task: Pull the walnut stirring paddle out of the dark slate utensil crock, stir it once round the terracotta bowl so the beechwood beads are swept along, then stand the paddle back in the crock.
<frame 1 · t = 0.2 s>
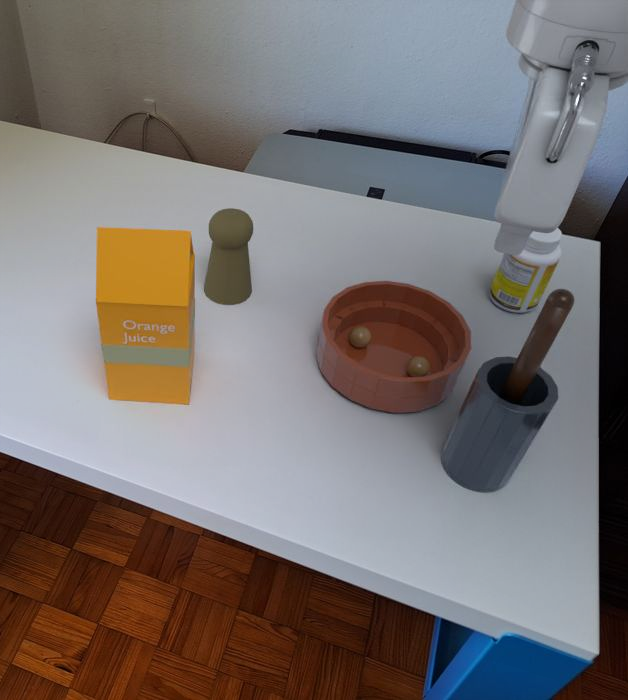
hand: (515, 211, 50), 27 cm above the table, tool pointing down, fingers open, 8 cm apart
supplement bottle: (511, 300, 83), on the table
crock: (475, 464, 67), on the table
olive game pawn: (227, 289, 86), on the table
stir paddle: (477, 460, 66), point 1 cm above the table, touching crock
orange juice: (153, 377, 76), on the table
bead a: (418, 366, 73), point 2 cm above the table, touching bowl
bowl: (385, 362, 76), on the table
bead b: (360, 336, 77), point 2 cm above the table, touching bowl
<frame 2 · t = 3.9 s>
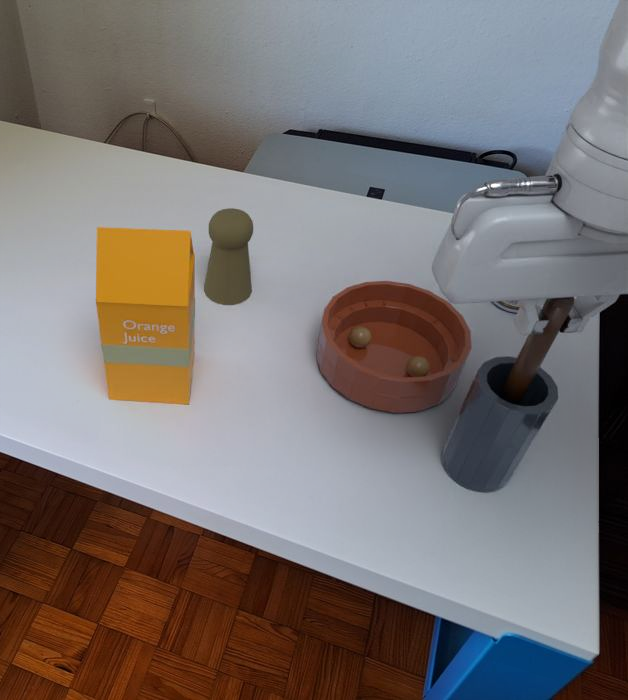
hand: (546, 328, 53), 19 cm above the table, tool pointing down, fingers closed on stir paddle, 2 cm apart
stir paddle: (477, 460, 66), point 1 cm above the table, touching crock, gripper
everything else where it was.
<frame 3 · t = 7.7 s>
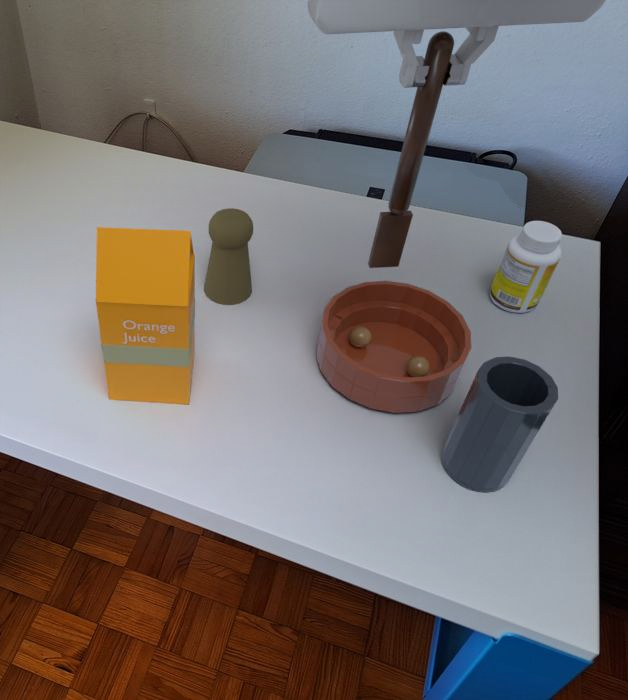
hand: (431, 83, 53), 33 cm above the table, tool pointing down, fingers closed on stir paddle
stir paddle: (382, 265, 66), point 15 cm above the table, touching gripper
everything else where it was.
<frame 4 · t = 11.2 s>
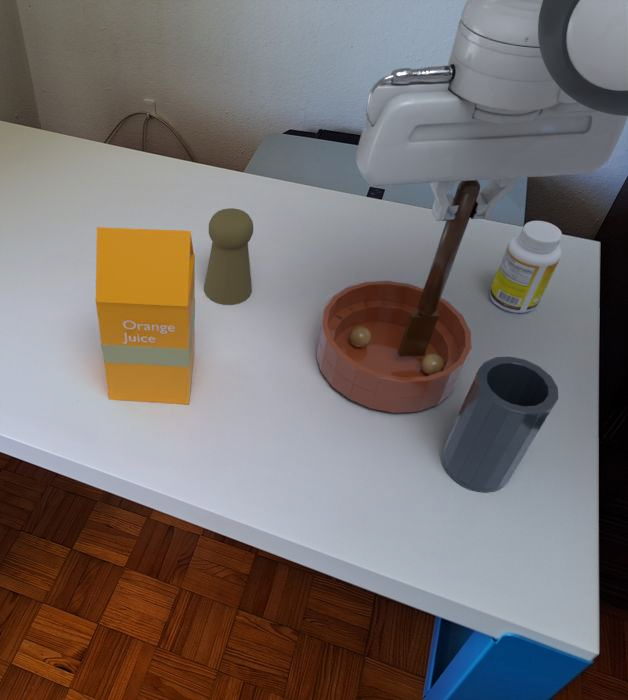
hand: (459, 216, 61), 20 cm above the table, tool pointing down, fingers closed on stir paddle, 2 cm apart
stir paddle: (410, 354, 74), point 2 cm above the table, touching gripper
bead a: (432, 364, 74), point 2 cm above the table, tilted 78°, touching bowl
everything else where it was.
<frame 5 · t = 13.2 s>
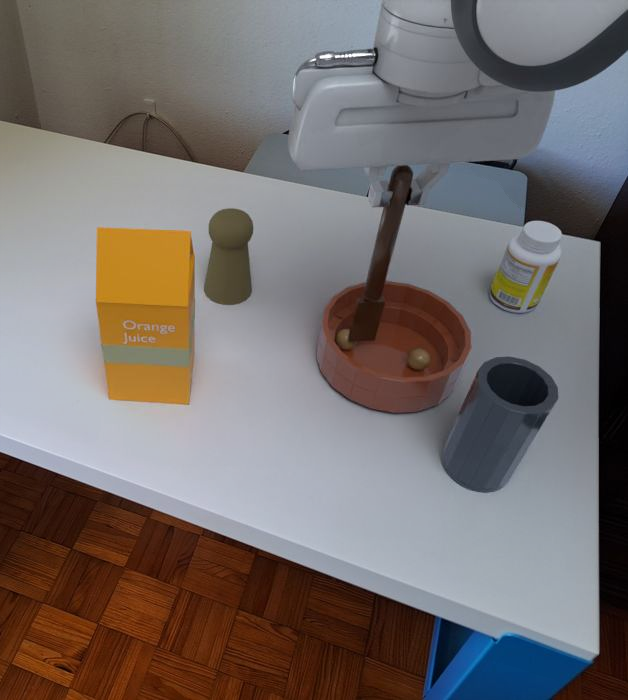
hand: (395, 202, 61), 21 cm above the table, tool pointing down, fingers closed on stir paddle, 2 cm apart
stir paddle: (361, 339, 75), point 3 cm above the table, touching gripper
bead a: (418, 359, 74), point 2 cm above the table, tilted 36°, touching bowl
bead b: (346, 339, 77), point 2 cm above the table, tilted 78°, touching bowl
everything else where it was.
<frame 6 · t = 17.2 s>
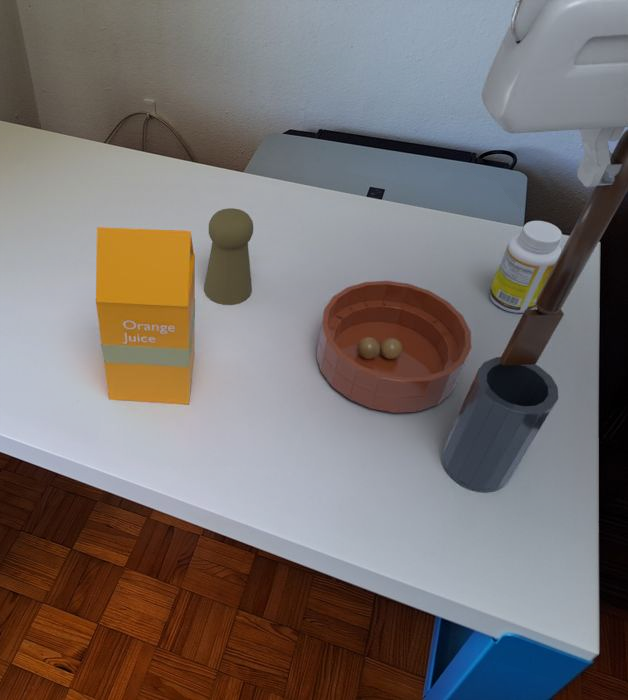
hand: (616, 180, 44), 32 cm above the table, tool pointing down, fingers closed on stir paddle
stir paddle: (517, 362, 58), point 14 cm above the table, touching gripper
bead a: (390, 348, 75), point 2 cm above the table, tilted 133°, touching bowl
bead b: (368, 348, 76), point 2 cm above the table, tilted 66°, touching bowl
everything else where it was.
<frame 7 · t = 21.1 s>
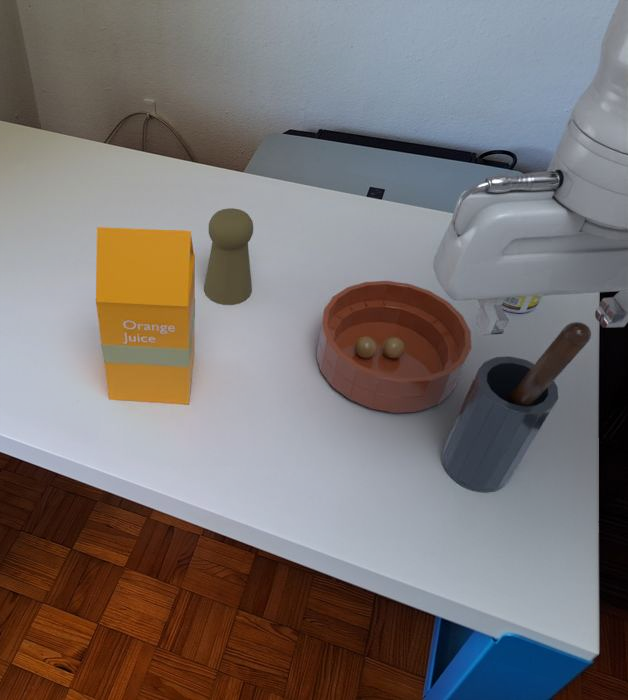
hand: (547, 325, 53), 19 cm above the table, tool pointing down, fingers open, 8 cm apart
stir paddle: (474, 454, 67), point 1 cm above the table, tilted 11°, touching crock
bead b: (366, 347, 76), point 2 cm above the table, tilted 60°, touching bowl
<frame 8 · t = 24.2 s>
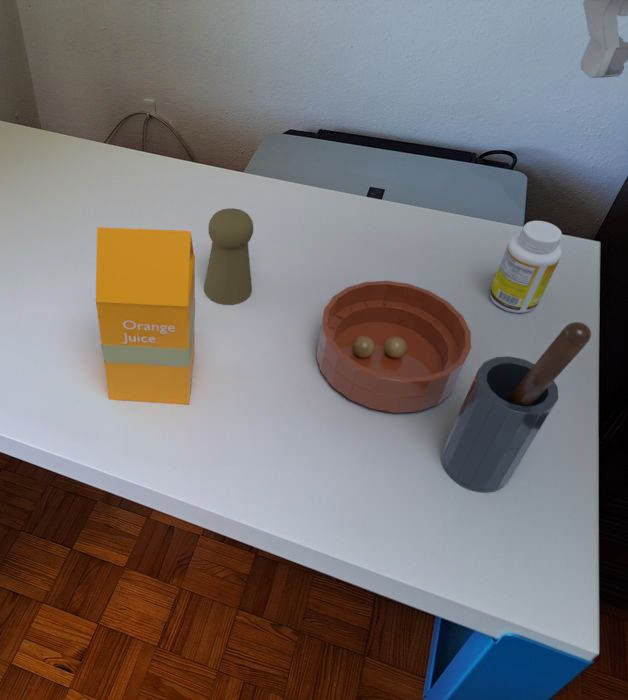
nothing on the table moved.
at the end: bead a moved 3.5 cm from its start; bead a inside the target area in the bowl (1.2 cm from its centre), point 1.8 cm above the bowl's base; stir paddle 0.7 cm off-centre in the crock, point 0.7 cm above the crock's base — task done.
